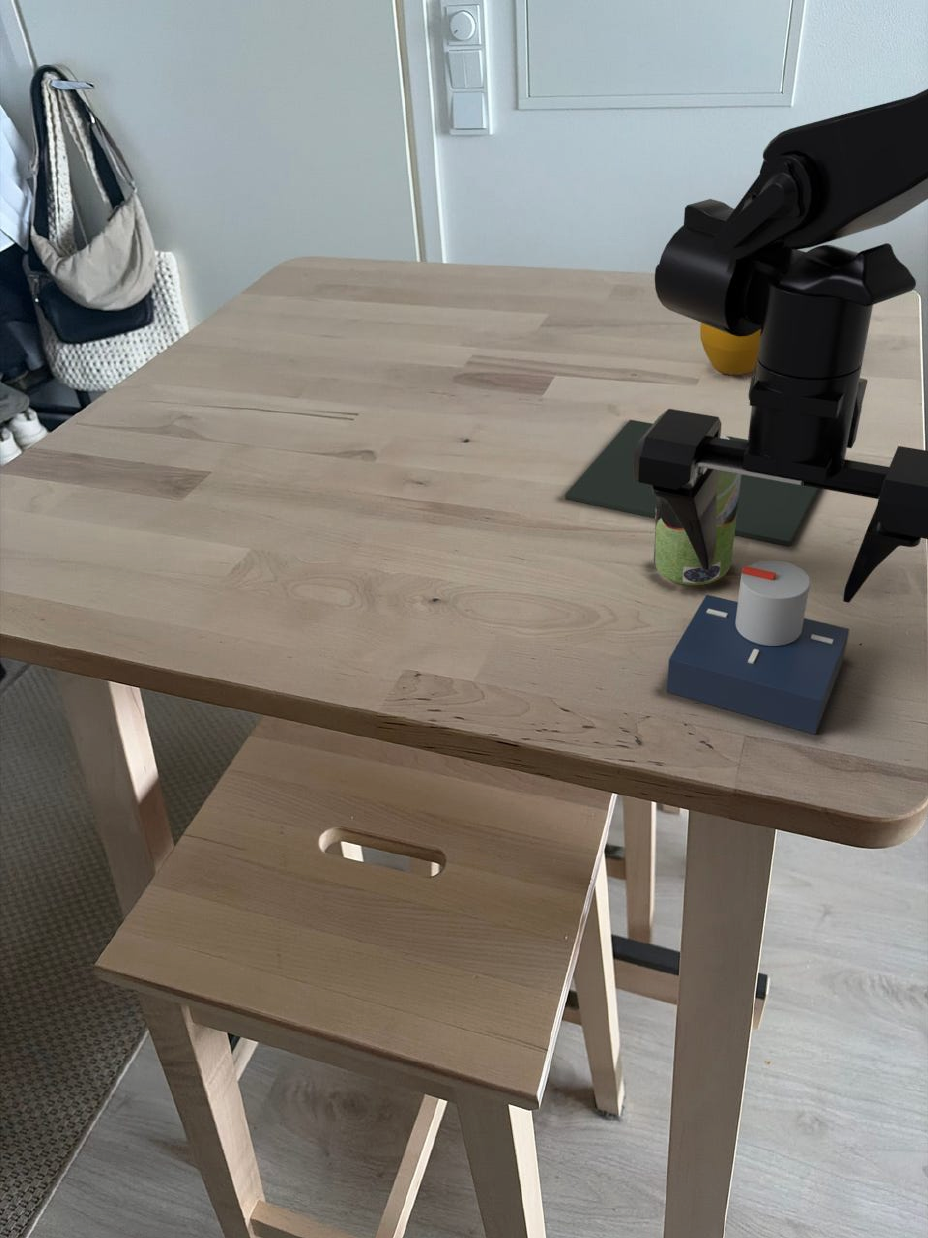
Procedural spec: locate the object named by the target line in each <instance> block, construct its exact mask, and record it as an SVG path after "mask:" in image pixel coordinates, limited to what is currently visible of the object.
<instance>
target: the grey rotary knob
mask: <svg viewBox="0 0 928 1238" xmlns="http://www.w3.org/2000/svg"><path fill="white" fill-rule="evenodd" d="M741 571H742V572H741V574H740V575H741V576H740V581H739V582H740V583H739V589H738V590H739V592H738V599H737V602H738V606H737V614H736V622H735V624H736V628H737V630H738V632H739V633H740V634H741V635H742V636H743V637H744V638H746V639H748V640H749V641H751V642H754V643H757V644H761V645H766V646H781V645H786V644H789V643H791V642H793V641H795V640H796V639H797V638H798V637H799V636H800V634H801V632H802V627H803V621H804V618H805V614H806V609H807V604H808V597H809V592H810V587H811V580H810V577H809V575H808V574H807V572H805V570H804V569H802V568H800V567H799V566H797V565H795V564H792V563H791V562H786V561H781V560H761V561H756V562H753V563H751V564H749V565H744V567H743V568H742V570H741Z"/></svg>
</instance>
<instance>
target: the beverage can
mask: <svg viewBox="0 0 928 1238" xmlns="http://www.w3.org/2000/svg"><path fill="white" fill-rule="evenodd" d="M726 436H727V435H724V434H722V433H721V436H720V438H723V439H729V438H728V437H726ZM729 440H730V439H729ZM740 482H741V474H736V473H731V472H725V471H720V473H719V479H718V484H717V515H716V549H715V555H714V562H713V565H712V566H711V568H710V570H709V571H707V570H704V569H703V568H702V566H701V564H700V562H699V559H698V557H697V555H696V553H695V551H694V549H693V547H692V544H691V542H690V540H689V538H688V536H687V534H686V532H685V530H684V528H683V526H682V525H681V523H680V521H679V520H678V518H677V517H676V515H675V513H674V512H673V510H672V509H671V507H670V506H669V504H668V502H667V501H666V500H665V499H664V498H662V497H657V496H656V509H655V518H654V535H653V536H654V538H653V539H654V540H653V563H654V566H655V569H656V570H658V573H659V574H661V575H662V577H664V578H666V579H667V580H669V581H671V582H673V583H677V584H679V585H684V586H703V585H707V584H712V583H714V582H717V581H718V580H720V579H722V577H724V576H725V575H726V574H727V573H728V571H729V570H730V568H731V564H732V561H733V560H732V559H733V551H734V541H735V535H734V534H735V526H736V517H737V508H738V500H739V491H740Z"/></svg>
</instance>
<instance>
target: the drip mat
mask: <svg viewBox="0 0 928 1238" xmlns="http://www.w3.org/2000/svg"><path fill="white" fill-rule="evenodd" d="M652 425H653V423H652V422H648V421H640V420H634V419H629V421H628V422H627V423H626V424H625V425H624V426H623V427H622V428H621V430H619V432H618V433H617V434H616V435H615V436H614V438H613V439H612V440H611V441H610V443H609V444H608V445H607V446H606V447H605V448H604V449H603V450H602V452H601V453H600V454H598V456H597V457H596V459H595V460H593V462H592V463H591V464H590V465H589V466H588V468H586V470H585V471H584V472H583V473H582V475H581V476H579V478H578V479H577V480H576V481H575V483H574V484H573V485H572V486H571V487H570V488H569V489H568V490H567V492H566V493H565V495H564V499H565V500H569V501H573V502H579V503H583V504H587V505H593V506H597V507H602V508H606V509H612V510H616V511H621V512H625V513H630V514H633V515H635V514H636V515H640V516H644V517H649V518H654V519H655V509H656V496H655V495H654V494H653V491H652V487H653V485H649V484H644V483H639V482H638V481H637V480H636V479H635V478H634V477H633V471H634V453H635V450H636V447H637V443H638V441H639V440H640V439H641V438H642V437H643V435H644V434H645V433H646V432H647V431H648V429H649V428H650V427H651V426H652ZM725 436H726V437H728V438H729V439H730V440H735V441H741V442H746V443H748V439H745V438H739V437H735V436H729V435H725ZM819 489H820V488H815V487H810V486H804V485H796V484H790V483H785V482H780V481H774V480H769V479H763V478H758V477H753V476H747V475H742V474H741V482H740V491H739V500H738V508H737V517H736V526H735V534H734V536H739V537H743V538H748V539H752V540H758V541H762V542H767V543H772V544H775V545H776V544H777V545H780V546H786V547H790V546H791V544H792V542H793V540H794V538H795V536H796V535H797V532H798V530H799V529H800V526H801V525H802V523H803V520H804V518H805V516H806V515H807V513H808V510H809V509H810V506H811V505H812V503H813V501H814V499H815V496H816V495H817V493H818V491H819Z"/></svg>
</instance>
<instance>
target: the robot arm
mask: <svg viewBox="0 0 928 1238" xmlns="http://www.w3.org/2000/svg"><path fill="white" fill-rule="evenodd" d="M762 159H763V161H762V164H761V167H760V169H759V174H758V175H757V177H756V178H755V180H754V181H753V182H752V184H751V185H750V186H749V188H748V190H747V191H746V192H745V194H744V195H743V197H742V198H741V199H740V201H739V202H738V203H737V205H736V206H735V208H733V207H731V206H730V205H728V204H727V203H725V202H722V201H720V200H717V199H713V198H708V199H705V200H701V201H697V202H694V203H689V204H687V205H686V206H685V207H684V213H683V215H684V216H683V225H682V226H681V227H679V228H678V229H677V231H675V232H674V233H673V235H672V236H671V238H670V239H669V241H668V242H667V243H666V245H665V247H664V249H663V251H662V253H661V256H660V259H659V262H658V264H657V265H656V266H655V270H654V289H655V292H656V296H657V299H658V301H659V302H660V303H661V305H662V306H663V307H665V309H667V310H668V311H670V312H673V313H676V314H678V315H681V316H683V317H685V318H689V319H691V320H693V321H696V322H698V323H700V324H701V323H703V324H706V325H709V326H711V327H714V328H716V329H719V330H721V331H724V332H726V333H729V334H731V335H735V336H738V337H741V336H749V335H751V334H753V333H755V332H757V331H758V330H760V329H761V333H760V341H759V350H758V358H757V361H756V365H755V368H754V371H752V375H751V379H750V383H749V384H750V385H749V389H748V400H749V406H750V407H751V411H750V419H749V427H748V435H747V440H748V443H746V442H741V441H735V440H729V439H723V438H720V436H721V434H722V424H723V423H722V421H721V419H720V417H719V416H716V415H709V414H704V413H697V412H691V411H684V410H679V409H673V408H667V410H665V411H664V412H663V413H661V414H660V415H659V416H658V417H657V418H656V420H655V421H654V422H653V423H652V424H653V425H652V426H651V427H650V428H649V429H648V431H647V432H646V433H645V434H644V435H643V437H642V438H641V439H640V440H639V441H638V443H637V447H636V450H635V453H634V471H633V477H634V478H635V479H636V480H637V481H638V482H639V483H644V484H649V485H653V487H652V491H653V494H654V495H655V496H657V497H662V498H664V499H665V500H666V501H667V502H668V504H669V506H670V507H671V509H672V510H673V512H674V513H675V515H676V517H677V518H678V520H679V521H680V523H681V525H682V526H683V528H684V530H685V532H686V534H687V536H688V538H689V540H690V542H691V544H692V547H693V549H694V551H695V553H696V555H697V557H698V559H699V562H700V564H701V566H702V568H703V569H704V570H707V571H709V570H710V568H711V566H712V565H713V562H714V555H715V549H716V515H717V484H718V479H719V473H720V471H725V472H731V473H736V474H742V475H747V476H753V477H758V478H763V479H769V480H774V481H780V482H785V483H790V484H796V485H804V486H810V487H815V488H819V489H822V490H825V491H826V490H827V491H832V492H837V493H842V494H848V495H854V496H860V497H865V498H869V499H874V500H875V499H876V500H877V503H876V507H875V510H874V512H873V514H872V516H871V519H870V521H869V524H868V527H867V529H866V530H865V533H864V536H863V539H862V542H861V544H860V547H859V550H858V552H857V555H856V558H855V560H854V562H853V565H852V567H851V570H850V573H849V575H848V578H847V580H846V583H845V586H844V591H843V597H842V601H843V602H844V603H847V604H850V603H851V601H852V600H853V598H854V597H855V596H856V595H857V593H858V592H859V590H860V589H861V588H862V586H863V585H864V583H865V582H866V581H867V579H868V578H869V577H870V575H871V574H872V573H873V572H874V570H875V569H876V568H877V567H878V566H879V565H880V564H881V563H883V562H884V561H885V559H887V558H888V557H889V556H890V555H891V554H892V553H893V552H895V551H896V549H897V548H898V547H905V548H915V547H918V546H919V545H920V543H921V539H925V540H928V450H926V449H922V448H921V449H919V448H914V447H907V446H901V445H898V446H897V448H896V450H895V453H894V455H893V458H892V460H891V462H890V464H889V466H887V465H880V464H874V463H868V462H865V461H864V462H862V461H857V460H851V459H846V454H847V449H852V448H853V447H854V444H855V442H856V440H857V435H858V431H859V423H860V419H861V414H862V409H863V402H864V398H865V393H866V389H867V386H868V379H866V378H861V374H862V373H861V372H862V368H863V362H864V356H865V350H866V345H867V340H868V335H869V329H870V324H871V319H872V313H873V308H874V305H877V304H879V303H882V302H885V301H888V300H891V299H893V298H897V297H899V296H902V295H905V294H907V293H910V292H912V291H914V290H915V288H916V286H917V280H916V278H915V277H914V276H913V274H912V273H911V272H910V270H909V268H908V267H907V266H906V265H905V264H903V263H902V262H901V261H900V260H899V259H898V257H897V256H896V254H895V252H894V249H893V246H892V245H891V243H888V242H887V243H883V244H879V245H876V246H874V247H870V248H867V249H864V250H861V251H859V252H858V251H854V250H850V249H846V248H845V247H844V248H843V247H839V246H837V245H833V244H826V243H829V242H832V241H835V240H840V239H843V238H845V237H848V236H851V235H855V234H857V233H861V232H865V231H867V230H871V229H873V228H877V227H880V226H883V225H886V224H889V223H890V222H892V221H895V220H896V219H898V218H899V217H901V216H903V215H905V214H906V213H907V212H910V211H911V210H912V209H914V208H915V207H917V206H919V205H920V204H922V203H924V202H925V201H928V88H926V89H924V90H922V91H920V92H918V93H915V94H914V95H911V96H907V97H903V98H900V99H897V100H892V101H889V102H885V103H882V104H878V105H873V106H870V107H866V108H863V109H858V110H855V111H851V112H847V113H842V114H839V115H836V116H831V117H828V118H825V119H821V120H818V121H813V122H810V123H806V124H803V125H798V126H795V127H791V128H788V129H785V130H783V131H782V132H781V131H780V132H779V133H778V134H777V135H776V136H775V137H773V138H772V139H771V140H770V141H769V142H768V144H767V145H766V147H765V148H764V150H763V151H762ZM813 247H814V248H813ZM809 248H811V249H809ZM804 249H809V250H808V251H803V250H804Z"/></svg>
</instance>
